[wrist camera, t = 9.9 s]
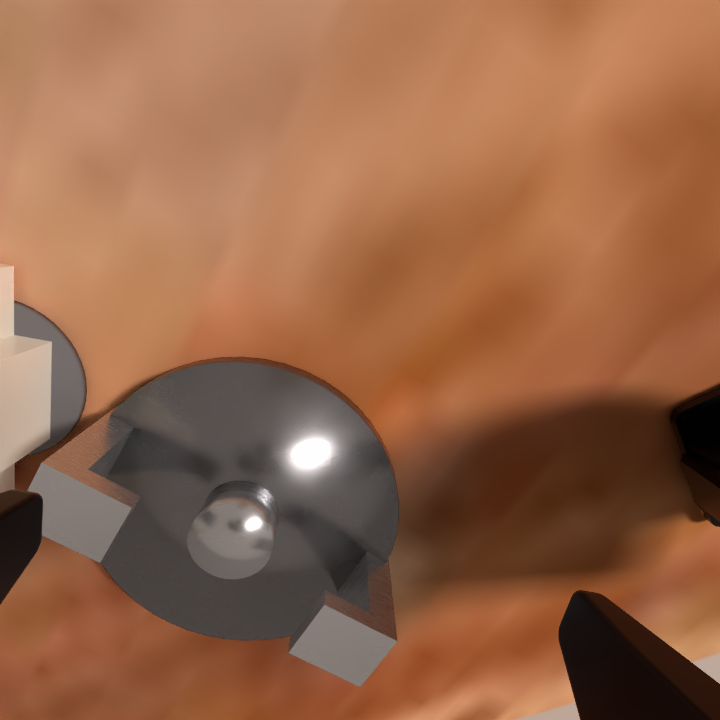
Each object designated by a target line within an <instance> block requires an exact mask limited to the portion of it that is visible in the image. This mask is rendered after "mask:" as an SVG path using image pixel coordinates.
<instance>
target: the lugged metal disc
mask: <svg viewBox="0 0 720 720" xmlns="http://www.w3.org/2000/svg"><path fill="white" fill-rule="evenodd" d="M27 491H30V492H35V493H39V494H40V495H41V496H42V498H43V521H42V536H44V537H46V538H48V539H50V540H53V541H55V542H57V543H59V544H61V545H63V546H65V547H67V548H69V549H71V550H73V551H76V552H78V553H80V554H82V555H84V556H86V557H88V558H90V559H92V560H94V561H97V562H99V563H100V562H101V564H102V565H103V566H104V568H105V569H106V571H107V572H108V573H109V575H110V576H111V578H112V579H113V580H114V581H115V582H116V583H117V584H118V585H119V586H120V587H121V588H122V590H123V591H124V592H126V593H127V594H128V595H129V596H130V597H131V598H132V599H134V600H135V601H136V602H137V603H138V604H140V605H141V606H143V607H144V608H146V609H147V610H149V611H150V612H151V613H153V614H154V615H156V616H158V617H160V618H162V619H164V620H166V621H168V622H169V623H171V624H174V625H176V626H179V627H181V628H184V629H186V630H189V631H192V632H196V633H199V634H203V635H206V636H211V637H217V638H222V639H231V640H244V641H247V640H267V639H275V638H282V637H286V636H290V635H292V636H291V639H290V645H289V652H288V653H289V654H292V655H294V656H296V657H298V658H300V659H302V660H304V661H306V662H308V663H310V664H313V665H315V666H317V667H319V668H321V669H323V670H325V671H327V672H329V673H331V674H333V675H336V676H338V677H340V678H342V679H344V680H346V681H348V682H350V683H352V684H354V685H357V686H359V687H361V685H362V684H363V683H364V682H365V681H366V679H367V678H368V677H369V676H370V674H371V673H372V672H373V671H374V670H375V668H376V667H377V666H378V665H379V663H380V662H381V661H382V660H383V659H384V657H385V656H386V655H387V654H388V652H389V651H390V650H391V649H392V647H393V646H394V645H395V644H396V643H397V633H396V624H395V615H394V606H393V597H392V587H391V578H390V569H389V560H388V558H389V556H390V554H391V551H392V548H393V544H394V541H395V538H396V532H397V526H398V519H399V501H398V494H397V488H396V481H395V475H394V470H393V467H392V464H391V460H390V457H389V454H388V452H387V450H386V448H385V445H384V443H383V441H382V439H381V437H380V435H379V434H378V432H377V431H376V429H375V428H374V426H373V425H372V423H371V422H370V420H369V419H368V418H367V417H366V416H365V415H364V413H363V412H362V411H361V410H360V409H359V408H358V406H357V405H355V404H354V403H353V402H352V401H351V400H350V399H349V398H348V397H346V396H345V395H344V394H343V393H342V392H340V391H339V390H338V389H336V388H335V387H333V386H332V385H330V384H329V383H327V382H326V381H324V380H322V379H320V378H318V377H316V376H314V375H312V374H310V373H308V372H307V371H304V370H301V369H298V368H296V367H293V366H290V365H287V364H284V363H280V362H275V361H271V360H267V359H260V358H250V357H220V358H214V359H207V360H201V361H197V362H193V363H190V364H187V365H183V366H180V367H177V368H175V369H173V370H171V371H168V372H166V373H164V374H162V375H160V376H158V377H157V378H155V379H153V380H152V381H150V382H149V383H147V384H145V385H144V386H143V387H141V388H140V389H139V390H137V391H136V392H134V393H133V394H132V395H131V396H130V397H128V398H127V399H126V400H125V401H124V402H123V403H121V404H120V405H118V406H117V407H115V408H114V409H112V410H111V411H110V412H108V413H107V414H106V415H104V416H103V417H102V418H100V419H99V420H98V421H96V422H95V423H94V424H92V425H91V426H90V427H88V428H87V429H86V430H84V431H83V432H82V433H80V434H79V435H78V436H76V437H75V438H74V439H72V440H71V441H70V442H68V443H67V444H66V445H64V446H63V447H62V448H60V449H59V450H58V451H56V452H55V453H54V454H52V455H51V456H50V457H48V458H47V459H46V460H44V461H43V462H42V463H41V465H40V467H39V469H38V471H37V473H36V475H35V477H34V479H33V481H32V483H31V484H30V486H29V488H28V490H27Z"/></svg>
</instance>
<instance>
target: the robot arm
mask: <svg viewBox="0 0 720 720" xmlns="http://www.w3.org/2000/svg"><path fill="white" fill-rule="evenodd" d="M685 415H687V418H686V419H685V420H684V421H682V418H683V417H684V416H685ZM670 422H671V424H672V427H673V430H674V433H675V436H676V438H677V441H678V444H679V447H680V449H681V452H682V455H681V459H680V463H681V466H682V468H683V471H684V474H685V477H686V479H687V482H688V485H689V488H690V490H691V493H692V496H693V499H694V501H695V503H696V504H697V505H699V506H700V507H701V508H702V510H703V513H704V516H705V518H706V519H707V520H708V521H709V522H711V523H712V524H713V525H715V526H719V527H720V388H719V389H717V390H715V391H712V392H710V393H708V394H706V395H704V396H701V397H699V398H697V399H695V400H693V401H690V402H688V403H686V404H684V405H681V406H679V407H677V408H676V409H674V410H673V412H672V413H671V416H670ZM42 521H43V498H42V496H41V495H40V494H39V493H35V492H30V491H24V490H18V489H12V490H8V491H5V492H2V493H0V604H1V603H2V601H3V600H4V598H5V597H6V596H7V594H8V593H9V591H10V590H11V588H12V587H13V585H14V584H15V582H16V581H17V580H18V578H19V577H20V575H21V574H22V572H23V571H24V569H25V568H26V567H27V565H28V564H29V562H30V561H31V559H32V558H33V556H34V555H35V553H36V552H37V550H38V548H39V545H40V542H41V538H42ZM559 643H560V647H561V651H562V654H563V658H564V662H565V665H566V669H567V673H568V676H569V680H570V684H571V687H572V691H573V695H574V698H575V702H576V706H577V709H578V713H579V716H580V720H720V684H719V683H718V682H716V681H715V680H714V679H712V678H711V677H710V676H708V675H707V674H706V673H704V672H703V671H702V670H701V669H699V668H698V667H697V666H695V665H694V664H693V663H691V662H690V661H689V660H688V659H686V658H685V657H684V656H682V655H681V654H680V653H678V652H677V651H676V650H674V649H673V648H672V647H670V646H669V645H668V644H667V643H665V642H664V641H663V640H661V639H660V638H659V637H657V636H656V635H655V634H653V633H652V632H651V631H649V630H648V629H647V628H646V627H644V626H643V625H642V624H640V623H639V622H638V621H636V620H635V619H634V618H632V617H631V616H630V615H628V614H627V613H626V612H625V611H623V610H622V609H621V608H619V607H618V606H617V605H615V604H614V603H613V602H611V601H610V600H609V599H608V598H606V597H605V596H603V595H602V594H599V593H595V592H589V591H583V590H579V591H576V592H575V593H574V594H573V595H572V597H571V600H570V602H569V605H568V607H567V609H566V612H565V614H564V616H563V619H562V621H561V624H560V627H559Z"/></svg>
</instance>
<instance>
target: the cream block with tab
mask: <svg viewBox="0 0 720 720" xmlns="http://www.w3.org/2000/svg"><path fill="white" fill-rule="evenodd" d="M51 362H52V342H51V341H45V340H39V339H34V338H28V337H23V336H17V335H14V266H10V265H5V264H0V493H2V492H5V491H8V490H12V489H15V463H16V462H17V461H18V460H20V459H21V458H23V457H24V456H26V455H27V454H29V453H30V452H31V451H33V450H34V449H36V448H37V447H39V446H40V445H42V444H43V443H45V442H46V441H47V440H49V439H50V415H51Z"/></svg>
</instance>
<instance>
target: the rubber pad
mask: <svg viewBox="0 0 720 720" xmlns="http://www.w3.org/2000/svg"><path fill="white" fill-rule="evenodd" d="M14 335H17V336H23V337H28V338H34V339H39V340H45V341H51V342H52V362H51V415H50V439H49V440H47V441H46V442H45V443H43V444H42V445H40V446H39V447H37V448H36V449H34V450H33V451H31V452H30V453H29V454H27V455H32V454H35V453H39V452H41V451H44V450H46V449H48V448H50V447H52V446H53V445H55V444H56V443H58V442H59V441H61V440H62V439H63V438H64V437H65V436H67V435H68V434H69V433H70V432H71V431H72V429H73V428H74V427H75V426H76V424H77V423H78V421H79V419H80V417H81V415H82V413H83V410H84V406H85V402H86V394H87V387H86V377H85V372H84V368H83V365H82V362H81V360H80V358H79V356H78V353H77V351H76V350H75V348H74V346H73V345H72V343H71V342H70V340H69V339H68V338H67V336H66V335H65V334H64V333H63V332H62V331H61V330H60V329H59V328H58V327H57V326H56V325H55V324H54V323H53V322H52V321H51V320H49V319H48V318H47V317H46V316H44V315H43V314H41V313H40V312H38V311H36V310H35V309H33V308H31V307H29V306H27V305H25V304H22V303H20V302H17V301H14ZM27 455H26V456H27Z"/></svg>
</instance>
